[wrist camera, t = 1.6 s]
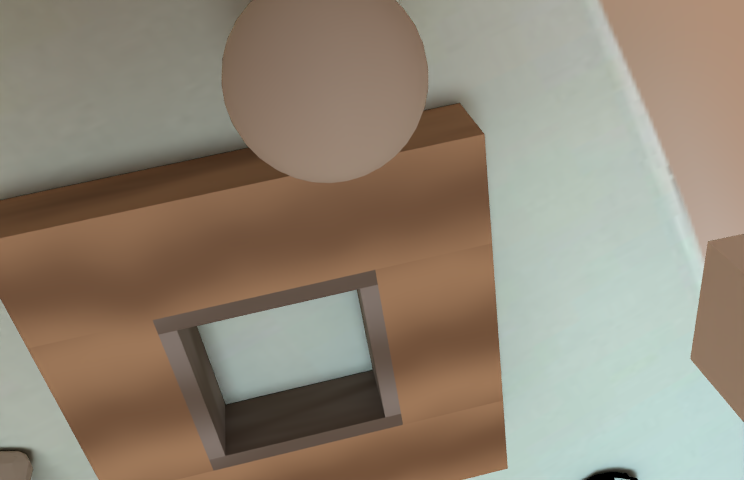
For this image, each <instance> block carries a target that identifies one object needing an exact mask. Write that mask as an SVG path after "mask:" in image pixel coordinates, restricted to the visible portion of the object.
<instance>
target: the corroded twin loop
mask: <svg viewBox="0 0 744 480" xmlns="http://www.w3.org/2000/svg"><path fill="white" fill-rule="evenodd" d="M614 478H623V479H630V480H638V479H637V478H634V477H630V476H629V475H628V474H626V473H619V472H608V473H602V474H596V475H594V476H592V477H590V478H589V479H587V480H614Z"/></svg>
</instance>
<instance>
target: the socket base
mask: <svg viewBox="0 0 744 480" xmlns="http://www.w3.org/2000/svg"><path fill="white" fill-rule="evenodd" d="M352 290H357V293H358V298H359V303H360V308H361V313H362V318H363V323H364V328H365V333H366V338H367V343H368V348H369V353H370V358H371V363H372V368H373V370H372V371H368V372H364V373H359V374H355V375H351V376H347V377H343V378H338V379H334V380H330V381H326V382H321V383H317V384H313V385H309V386H304V387H300V388H296V389H292V390H288V391H283V392H279V393H275V394H271V395H266V396H262V397H258V398H254V399H249V400H245V401H241V402H237V403H233V404H228V405H225V403H224V400H223V397H222V394H221V392H220V389H219V386H218V383H217V381H216V378H215V375H214V372H213V370H212V367H211V364H210V362H209V359H208V356H207V353H206V351H205V348H204V345H203V342H202V340H201V337H200V334H199V331H198V329H197V326H199V325H203V324H207V323H212V322H216V321H221V320H225V319H229V318H234V317H238V316H243V315H247V314H251V313H256V312H260V311H265V310H269V309H273V308H278V307H282V306H286V305H291V304H295V303H300V302H304V301H308V300H313V299H317V298H322V297H326V296H330V295H335V294H339V293H343V292H348V291H352ZM0 299H1V300H2V302H3V304H4V306H5V308H6V310H7V312H8V313H9V315H10V317H11V319H12V321H13V323H14V324H15V326H16V328H17V330H18V332H19V334H20V335H21V337H22V339H23V341H24V343H25V345H26V347H27V348H28V350H29V352H30V354H31V356H32V358H33V359H34V361H35V363H36V365H37V367H38V369H39V370H40V372H41V374H42V376H43V378H44V380H45V382H46V383H47V385H48V387H49V389H50V391H51V393H52V394H53V396H54V398H55V400H56V402H57V404H58V405H59V407H60V409H61V411H62V413H63V415H64V416H65V418H66V420H67V422H68V424H69V426H70V428H71V429H72V431H73V433H74V435H75V437H76V439H77V440H78V442H79V444H80V446H81V448H82V450H83V451H84V453H85V455H86V457H87V459H88V461H89V463H90V464H91V466H92V468H93V470H94V472H95V474H96V475H97V477H98V479H99V480H463V479H467V478H471V477H475V476H479V475H483V474H487V473H491V472H495V471H499V470H503V469H507V468H508V467H507V453H506V438H505V424H504V410H503V395H502V381H501V366H500V352H499V338H498V323H497V309H496V295H495V280H494V266H493V251H492V237H491V223H490V208H489V194H488V179H487V165H486V151H485V136H484V133H483V132H482V130H481V129H480V128H479V127H478V125H477V124H476V123H475V122H474V120H473V119H472V118H471V117H470V115H469V114H468V113H467V112H466V110H465V109H464V108H463V107H462V105H461V104H460V103H458V104H453V105H448V106H444V107H439V108H434V109H429V110H425V111H423V113H422V115H421V118H420V120H419V123H418V125H417V128H416V130H415V131H414V133H413V135H412V136H411V138H410V139H409V141H408V142H407V144H406V145H405V146H404V147H403V148H402V149H401V150H400V152H399V153H398V154H397V155H396V156H395V157H394V158H392V159H391V160H390V161H388V162H387V163H386V164H385V165H383V166H382V167H381V168H379V169H377V170H375V171H373V172H371V173H369V174H367V175H365V176H362V177H359V178H356V179H352V180H349V181H343V182H335V183H317V182H309V181H305V180H301V179H297V178H294V177H291V176H289V175H287V174H285V173H282V172H280V171H278V170H276V169H275V168H273V167H272V166H270V165H269V164H267V163H266V162H264V161H263V160H262V159H260V158H259V157H258V156H257V155H256V154H255V153H254V152H253V151H252V150H251V149H250V148H245V149H240V150H236V151H231V152H226V153H222V154H217V155H212V156H207V157H203V158H198V159H193V160H188V161H184V162H179V163H174V164H170V165H165V166H160V167H155V168H151V169H146V170H141V171H137V172H132V173H127V174H122V175H118V176H113V177H108V178H103V179H99V180H94V181H89V182H85V183H80V184H75V185H70V186H66V187H61V188H56V189H51V190H47V191H42V192H37V193H33V194H28V195H23V196H18V197H14V198H9V199H4V200H0Z"/></svg>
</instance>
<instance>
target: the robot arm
mask: <svg viewBox="0 0 744 480" xmlns="http://www.w3.org/2000/svg"><path fill="white" fill-rule="evenodd" d="M690 359H691V360H692V361H693V363H694V364H695V365H696V366H697V367H698V368H699V370H700V371H701V372H702V373H703V374H704V376H705V377H706V378H707V379H708V380H709V381H710V383H711V384H712V385H713V386H714V387H715V389H716V390H717V391H718V392H719V393H720V395H721V396H722V397H723V398H724V399H725V400H726V402H727V403H728V404H729V405H730V406H731V408H732V409H733V410H734V411H735V412H736V413H737V415H738V416H739V417H740V418H741V419H742V421H743V422H744V234H741V235H736V236H731V237H726V238H722V239H717V240H712V241H708V244H707V251H706V258H705V264H704V271H703V278H702V284H701V291H700V298H699V304H698V311H697V318H696V325H695V331H694V338H693V345H692V351H691V358H690Z"/></svg>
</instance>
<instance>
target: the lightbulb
mask: <svg viewBox="0 0 744 480" xmlns="http://www.w3.org/2000/svg"><path fill="white" fill-rule="evenodd" d="M222 90H223V96H224V102H225V106H226V108H227V111H228V114H229V116H230V119H231V121H232V123H233V125H234V127H235V128H236V130H237V131H238V133H239V134H240V136H241V137H242V139H243V141H244V142H245V144H246V145H247V146H248V147H249V148H250V149H251V150H252V151H253V152H254V153H255V154H256V155H257V156H258V157H259V158H260V159H262V160H263V161H264V162H266V163H267V164H269V165H270V166H272V167H273V168H275V169H276V170H278V171H280V172H282V173H285V174H287V175H289V176H291V177H294V178H297V179H301V180H305V181H309V182H317V183H335V182H343V181H349V180H352V179H356V178H359V177H362V176H365V175H367V174H369V173H371V172H373V171H375V170H377V169H379V168H381V167H382V166H383V165H385V164H386V163H387V162H388V161H390V160H391V159H392V158H394V157H395V156H396V155H397V154H398V153H399V152H400V150H401V149H402V148H403V147H404V146H405V145H406V144H407V142H408V141H409V139H410V138H411V136H412V135H413V133H414V131H415V130H416V128H417V125H418V123H419V120H420V118H421V115H422V113H423V110H424V107H425V103H426V97H427V92H428V65H427V60H426V55H425V50H424V45H423V42H422V40H421V38H420V35H419V33H418V31H417V28H416V26H415V24H414V23H413V22H412V20H411V19H410V17H409V16H408V15H407V13H406V12H405V10H404V9H403V8H402V7H401V6H400V4H398V3H397V2H396V1H395V0H253V1H251V2H250V3H249V4H248V6H247V7H246V8H245V10H244V11H243V12H242V13H241V15H240V16H239V17H238V19H237V20H236V22H235V24H234V26H233V28H232V30H231V32H230V34H229V36H228V39H227V42H226V46H225V50H224V54H223V58H222Z"/></svg>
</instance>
